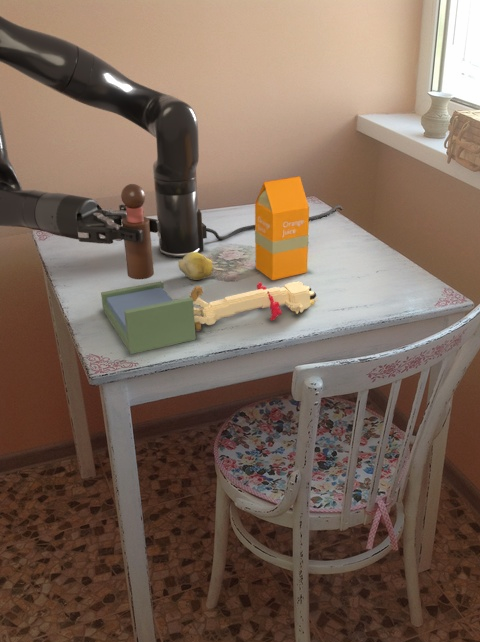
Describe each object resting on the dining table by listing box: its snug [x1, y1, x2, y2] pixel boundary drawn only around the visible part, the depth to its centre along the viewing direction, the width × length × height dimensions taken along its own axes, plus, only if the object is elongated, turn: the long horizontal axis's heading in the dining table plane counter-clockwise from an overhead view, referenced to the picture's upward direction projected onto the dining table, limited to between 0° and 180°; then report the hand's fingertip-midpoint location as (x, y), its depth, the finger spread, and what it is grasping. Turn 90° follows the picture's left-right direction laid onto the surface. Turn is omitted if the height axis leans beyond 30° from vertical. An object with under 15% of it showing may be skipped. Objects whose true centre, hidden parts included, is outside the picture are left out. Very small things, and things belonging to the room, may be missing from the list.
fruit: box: [177, 252, 225, 281], centre depth 148 cm, size 6×6×10 cm
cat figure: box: [189, 280, 319, 332], centre depth 132 cm, size 10×9×25 cm
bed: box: [100, 281, 197, 355], centre depth 129 cm, size 12×18×8 cm, turn 27°
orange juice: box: [254, 175, 310, 281], centre depth 148 cm, size 8×9×20 cm
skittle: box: [120, 183, 155, 280], centre depth 121 cm, size 5×5×16 cm
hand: (149, 231), depth 120 cm, fingers closed on skittle, 4 cm apart
